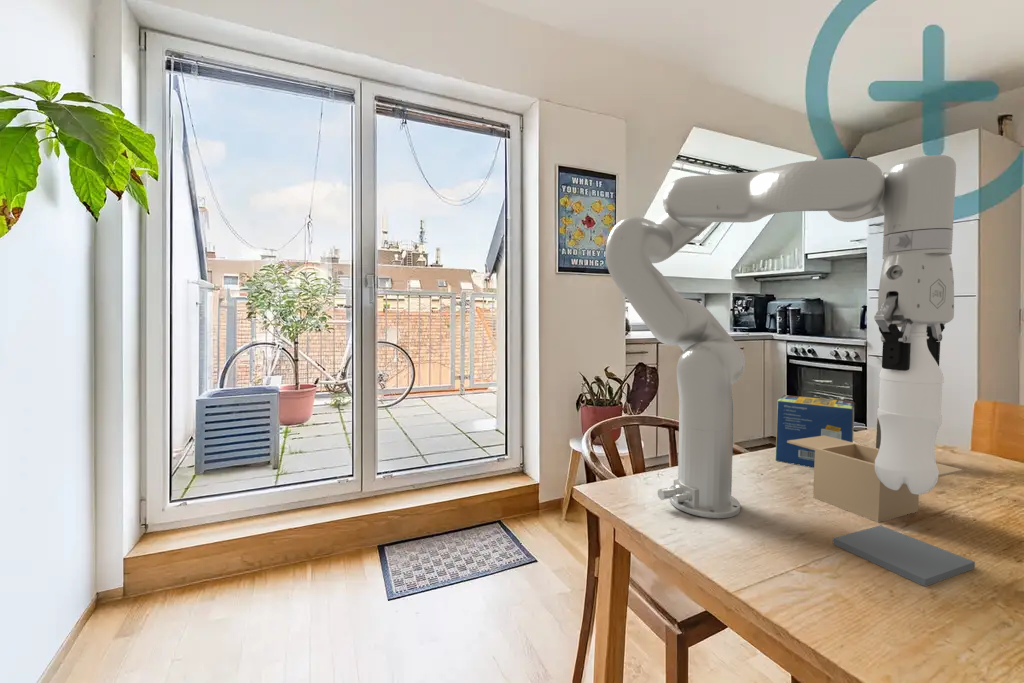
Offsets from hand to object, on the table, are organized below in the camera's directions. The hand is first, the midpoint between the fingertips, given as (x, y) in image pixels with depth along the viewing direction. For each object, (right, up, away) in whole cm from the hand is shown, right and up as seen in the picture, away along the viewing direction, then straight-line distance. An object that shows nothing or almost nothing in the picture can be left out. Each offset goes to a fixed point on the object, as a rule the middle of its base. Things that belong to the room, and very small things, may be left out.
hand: (910, 367), depth 66 cm
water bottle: (0, -18, +1) cm, 18 cm away
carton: (+9, -28, +20) cm, 35 cm away
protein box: (+16, -27, +45) cm, 55 cm away
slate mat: (0, -29, +2) cm, 29 cm away
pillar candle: (+38, -27, +45) cm, 65 cm away
